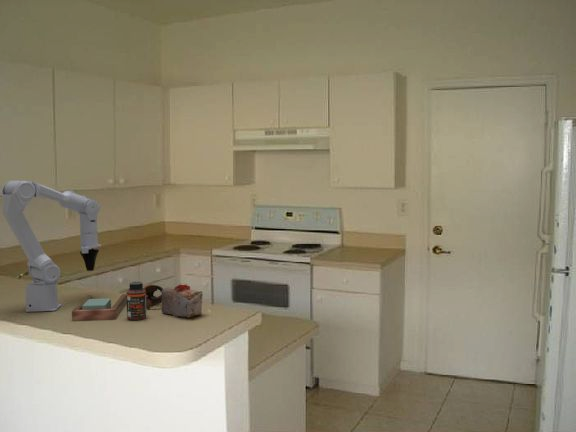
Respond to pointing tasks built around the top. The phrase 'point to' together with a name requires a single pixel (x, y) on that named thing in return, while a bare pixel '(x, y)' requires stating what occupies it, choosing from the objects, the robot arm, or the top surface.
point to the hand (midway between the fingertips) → (90, 270)
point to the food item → (181, 301)
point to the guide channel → (98, 310)
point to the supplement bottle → (136, 301)
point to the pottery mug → (152, 296)
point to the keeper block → (97, 304)
